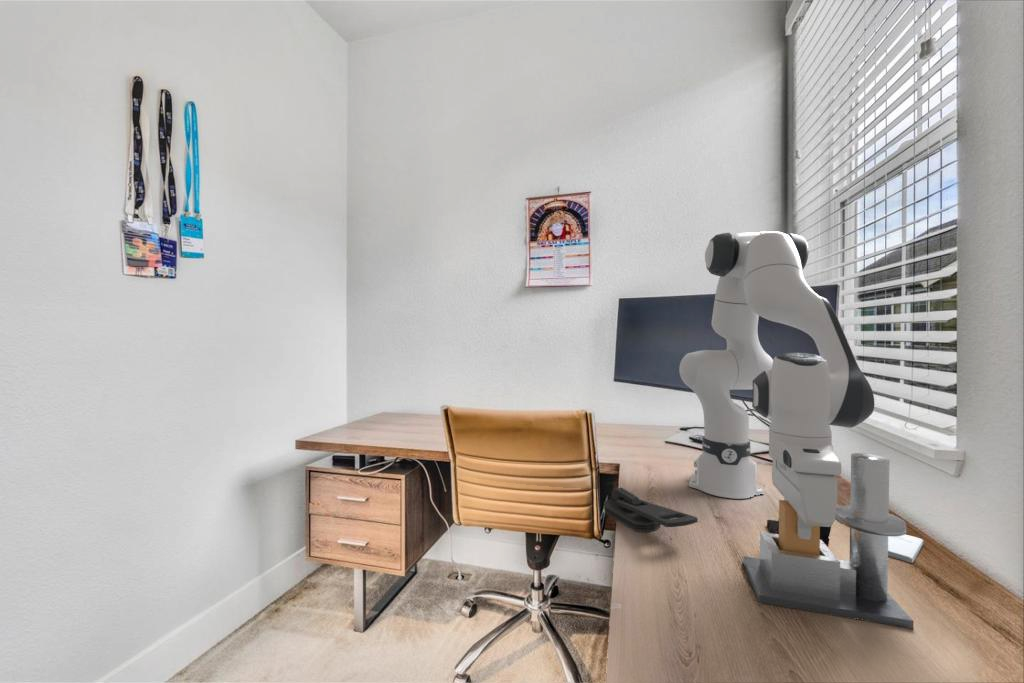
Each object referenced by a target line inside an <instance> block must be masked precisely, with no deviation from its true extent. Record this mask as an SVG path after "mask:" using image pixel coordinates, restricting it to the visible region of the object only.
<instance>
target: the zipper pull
mask: <svg viewBox="0 0 1024 683" xmlns="http://www.w3.org/2000/svg"><path fill="white" fill-rule="evenodd" d="M603 505H604V506H603V510H604V513H605V515H607V516H608V517H610V518H612V519H614V520H615V521H617V522H618V523H620V524H622V525H623V526H625V527H627V528H629V529H630V530H632V531H634V532H637V533H638V532H639V533H652V532H656V531H657V530H659V529H661V526H663V527H664V528H677V527H684V526H690V525H693V524H695V523H698V522H699V521H698V516H694V515H691V514H688V513H684V512H681V511H678V510H675V509H671V508H667V507H664V506H661V505H657V504H655V503H652V502H649V501H646V500H642V499H640V497H638V496H637V495H635V494H633V493H632V492H630V491H628V490H626V489H625V488H623V487H616V488H613V489H612V491H611V498H610V499H607V500H604V502H603Z"/></svg>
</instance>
